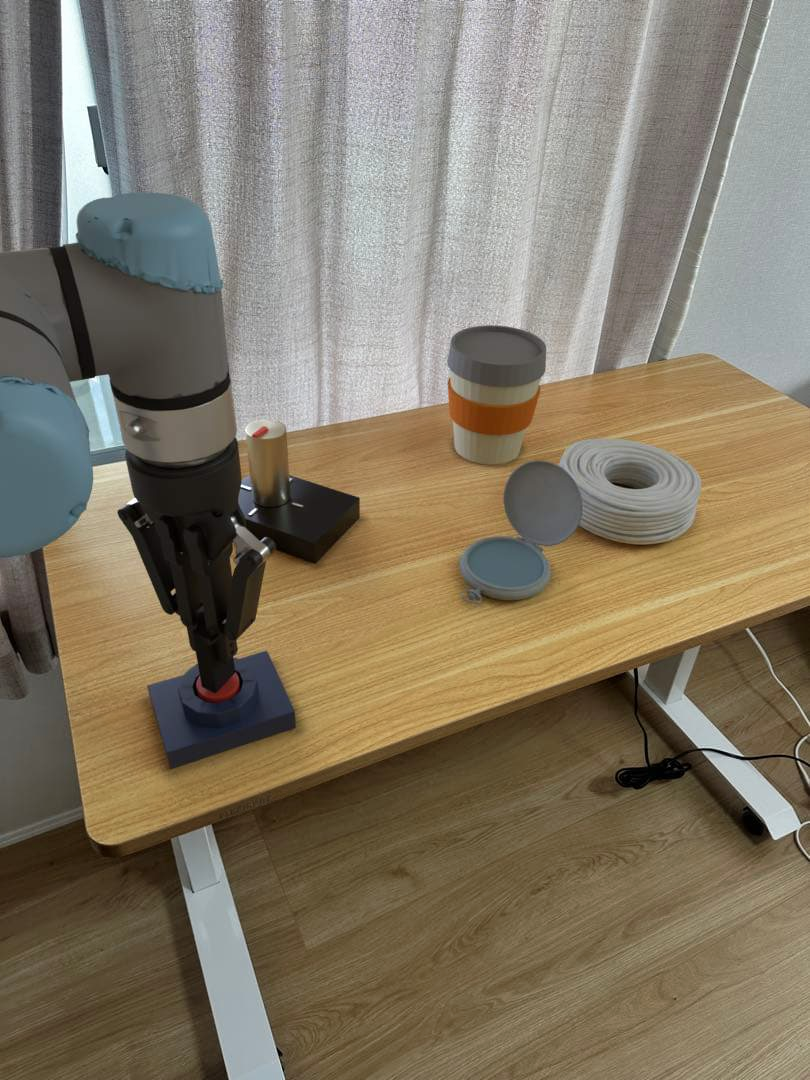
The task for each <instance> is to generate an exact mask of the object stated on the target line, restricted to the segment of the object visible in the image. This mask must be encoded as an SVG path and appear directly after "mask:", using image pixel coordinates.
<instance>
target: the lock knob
mask: <svg viewBox="0 0 810 1080" xmlns="http://www.w3.org/2000/svg"><path fill="white" fill-rule="evenodd" d="M287 433H288V432H287V426H286V424H284V422H282V421H280V420H277V419H271V418H264V419H258V420H257V419H256V420H254V421H252V422H250V423H249V424H248V425H247V426H246V428H245V438H246V448H247V457H248V460H247V461H248V470H249V475H250V481H251V491H252V499H253V501H254V502H255V503H256V504H258V505H260V506H263V507H277V506H280V505H283V504H285V503H286V502H287V501H288V500H289V499H290V481H289V475H290V465H289V451H288V450H289V449H288V435H287Z"/></svg>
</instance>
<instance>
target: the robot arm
mask: <svg viewBox="0 0 810 1080" xmlns="http://www.w3.org/2000/svg"><path fill="white" fill-rule="evenodd" d="M75 223H76V229H77V232H76V234H75V240H76V242H72V243H71V242H70V243H65V244H62V245H61V246H51V247H41V248H31V249H29V248H28V249H20V250H9V251H0V559H6V558H13V557H18V556H23V555H26V554H30V553H33V552H35V551H38V550H40V549H42V548H45V547H47V546H49V545H50V544H52V543H55V541H57V540H58V539H59V538H61V537H62V536H64V535H65V534H66V533H67V532H68V531H70V529H72V528H73V527H74V525H75V524H77V522H78V521H79V519H80V517H81V515H82V514H83V513H84V512H85V511H86V510H87V507H88V503H89V501H90V498H91V494H92V491H93V484H94V467H93V460H92V453H91V452H92V451H91V443H90V442H91V441H90V429H89V426H88V424H87V420H86V418H85V416H84V414H83V412H82V410H81V408H80V406H79V405H78V403H77V399H76V397H75V393H74V391H73V388H72V385H71V382H78V381H85V380H90V379H95V378H96V377H100V376H108V377H109V385H110V390H111V393H112V398H113V401H114V406H115V412H116V416H117V421H118V425H119V431H120V435H121V440H122V444H123V446H124V448H125V452H124V453H125V454H124V458H125V462H126V467H127V472H128V476H129V481H130V486H131V491H132V494H133V497H134V498H133V499H131V500H130V501H128V502H127V503H126V504H124V505H123V506H121V507H120V508H119V509H118V510H117V512H116V513H117V517H118V518H119V519H120V521H121V522H122V524H123V525H124V527H125V528H126V529H127V531H128V532H129V534H130V536H131V537H132V539H133V542H134V545H135V547H136V549H137V551H138V554H139V556H140V558H141V561H142V563H143V565H144V568H145V571H146V573H147V576H148V578H149V580H150V582H151V584H152V585H151V586H152V587H153V590H154V592H155V595H156V597H157V599H158V601H159V604H160V606H161V609H162V610H163V612H164V613H166V614H167V615H170V616H171V615H174V614H176V615H178V616H179V619H180V622H181V623H182V625H183V626H184V627H186V631H187V637H188V642H189V647H190V648H191V650H192V652H195V655H196V661H197V663H198V667H199V673H200V679H201V684H202V687H203V688H205V689H208V690H210V691H212V692H214V693H217V692H218V691H219V690H220V689H221V688H222V686H223V685H224V684H225V683H226V682H227V681H228V680H229V679H230V678H231V677H232V676H233V675H234V674H235V666H234V658H235V657H234V656H236V655H237V654H238V651H239V648H238V641H237V640H239V638H240V637H241V636H242V635H243V634H244V633H245V632H246V631H247V630H248V629H249V628H250V627H251V626H252V625H253V624H254V623H255V621H256V619H257V613H258V609H259V603H260V602H259V601H260V598H261V597H260V596H261V591H262V586H263V581H264V575H265V570H266V564H267V561H268V559H269V558H270V557H271V556H272V555H273V554H274V552H275V551H277V550H276V544H275V542H274V541H273V540H272V539H271V538H268V537H265V538H263V539H262V540H261V541H259V540H258V539H257V538H256V537H255V536H254V535H253V534H252V533H251V532H250V531H249V530H247V529H246V528H245V527H246V518H245V516H244V514H243V512H242V510H241V508H240V506H239V503H238V498H239V492H240V488H241V482H242V480H243V478H242V468H241V459H240V458H241V457H240V449H239V442H238V439H237V437H236V436H237V433H238V432H237V431H238V426H237V419H236V418H237V417H236V410H235V402H234V394H233V386H232V379H231V377H230V376H231V375H230V366H229V358H228V357H229V356H228V348H227V347H228V345H227V335H226V327H225V326H226V325H225V314H224V304H223V303H224V302H223V292H222V291H223V289H224V285H223V284H224V281H223V280H222V279H221V274H220V267H219V262H218V256H217V252H216V251H217V250H216V246H215V240H214V239H215V238H214V232H213V229H212V224H211V220H210V218H209V216H208V213H206V212H205V210H203V209H202V208H201V207H200V206H199V205H198V204H197V203H196V202H194V201H192V200H190V199H189V198H186V197H183V196H179V195H175V194H171V193H170V194H169V193H164V192H163V193H162V192H149V191H147V192H125V193H117V194H115V195H114V196H112V197H111V196H110V197H101V198H96V199H93V200H91V201H89V202H87V203H86V204H84V205H83V206H82V207H80V209H79V210H78V212H77V215H76V222H75ZM233 544H234V545H235V551H234V546H233ZM233 552H234V553H235V556H234V557H233V558H232V562H233V563H234V564H235V566H234V569H233V571H232V564H231V556H232V554H233ZM172 591H174V593H172Z"/></svg>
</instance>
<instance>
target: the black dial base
mask: <svg viewBox="0 0 810 1080" xmlns="http://www.w3.org/2000/svg"><path fill="white" fill-rule="evenodd" d="M289 481H290V499H289V500H288V501H287V502H286V503H285V504H283V505H280V506H277V507H263V506H260V505H258V504H256V503H255V502H254V501H253V499H252V491H251V481H250V474H248V475H247V476H246V477H245V478H244V479H243V478H242V482H241V488H240V492H239V498H238V503H239V506H240V508H241V510H242V512H243V514H244V516H245V518H246V527H245V528H246V529H247V530H249V531H250V532H251V533H252V534H253V535H254V536H255V537H256V538H257V539H258V540H259V541H261V540H262V539H263V538H265V537H268V538H271V539H272V540H273V541H274V542H275V544H276V550H275V551H276V552H277V551H278V552H279V553H283V554H287V555H289V556H291V557H293V558H297V559H298V560H299V559H300V560H303V561H305V562H307V563H311V564H313V565H317V563H318V562H319V561H320V560H322V558H323V557H324V556H325V555H326V554H327V553H328V552H329V551H330V550H331V549H332V548H333V547H334V546H335V545H336V544H337V542H338V541H340V540H341V538H342V537H343V536H345V534H346V533H347V532H348V531H349V530H350V529H351V528H352V527H353V526H354V525H355V524H356V523H357V521H359V520H360V518H361V517H360V513H361V512H360V511H361V510H360V509H361V507H360V506H361V504H360V503H361V498H360V497H359V496H355V495H352V494H349V493H346V492H344V491H341V490H340V491H339V490H337V489H334V488H331V487H328V486H325V485H322V484H318V483H315V482H313V481H309V480H307V479H303V478H299V477H297V476H294V475H291V474H289Z"/></svg>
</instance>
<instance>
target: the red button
mask: <svg viewBox="0 0 810 1080" xmlns="http://www.w3.org/2000/svg"><path fill="white" fill-rule="evenodd" d="M196 687H197V693H198V698H200V699H201V700H203V701H204V702H209V703H220V702H223V701H227V700H230V699H231V698H233V697H234V696H235V695H236V694H237V693H238V692H240V683H239V677H238V675H237V674H236V672H235V674H234V675H233V676H232V677H231V678H230V679H229V680H228V681H227V682H226V683H225V684H224V685H223V686H222V688H221V689H220V690H219V691H218V692H217V693H214V692H212V691H210V690H208V689H205V688H203V687H202V684H201V679H200V677H199V678H198V680H197V684H196Z"/></svg>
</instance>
